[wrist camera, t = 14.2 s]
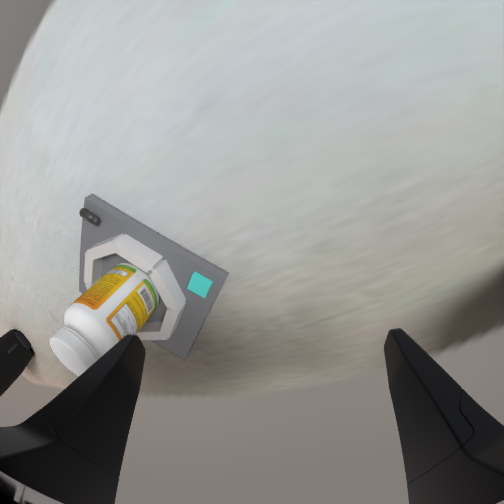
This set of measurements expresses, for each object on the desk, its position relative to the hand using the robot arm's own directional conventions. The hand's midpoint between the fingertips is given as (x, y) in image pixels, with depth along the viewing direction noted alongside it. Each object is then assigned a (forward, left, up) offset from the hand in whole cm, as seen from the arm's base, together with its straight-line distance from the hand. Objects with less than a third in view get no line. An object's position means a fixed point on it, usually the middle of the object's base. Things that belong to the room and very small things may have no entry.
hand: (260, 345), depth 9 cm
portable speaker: (+38, +53, -11) cm, 66 cm away
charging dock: (+10, +12, -11) cm, 19 cm away
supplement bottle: (+10, +12, -10) cm, 18 cm away
